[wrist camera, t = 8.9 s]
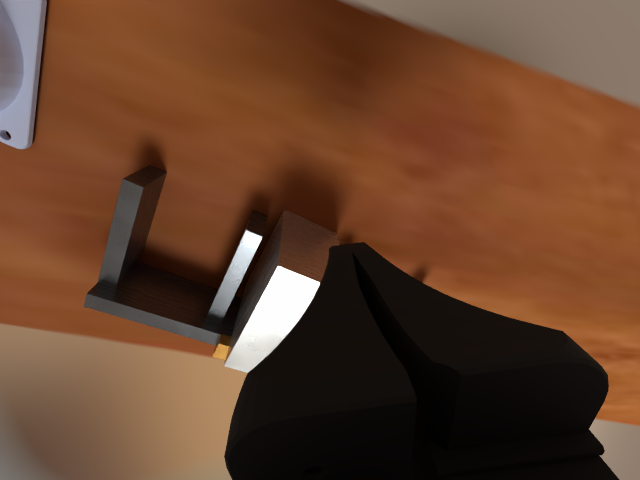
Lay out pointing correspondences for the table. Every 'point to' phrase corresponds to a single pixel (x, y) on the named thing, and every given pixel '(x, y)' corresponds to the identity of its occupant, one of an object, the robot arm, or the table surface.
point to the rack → (166, 273)
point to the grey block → (279, 289)
